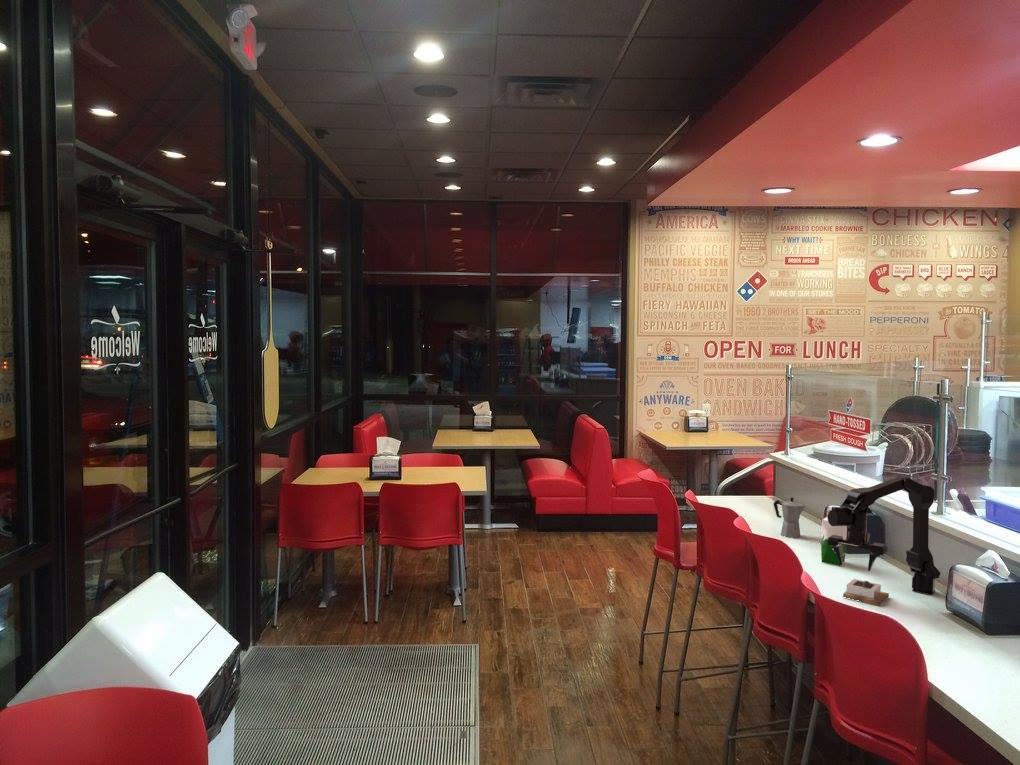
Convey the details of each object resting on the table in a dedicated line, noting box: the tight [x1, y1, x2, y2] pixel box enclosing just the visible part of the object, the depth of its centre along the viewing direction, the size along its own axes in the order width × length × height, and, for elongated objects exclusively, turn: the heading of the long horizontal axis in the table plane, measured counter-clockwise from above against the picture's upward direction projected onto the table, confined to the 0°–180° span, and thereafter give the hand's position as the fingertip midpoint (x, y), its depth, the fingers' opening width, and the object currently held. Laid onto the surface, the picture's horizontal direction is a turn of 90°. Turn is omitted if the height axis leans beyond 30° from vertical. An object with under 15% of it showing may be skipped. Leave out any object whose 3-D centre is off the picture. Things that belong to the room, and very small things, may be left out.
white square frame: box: [845, 578, 882, 599], centre depth 259 cm, size 9×9×3 cm
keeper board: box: [842, 580, 890, 607], centre depth 258 cm, size 12×12×6 cm
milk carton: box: [820, 516, 848, 567], centre depth 299 cm, size 9×9×20 cm
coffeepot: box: [773, 497, 807, 539], centre depth 341 cm, size 15×9×18 cm, turn 44°
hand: (855, 568), depth 260 cm, fingers open, 9 cm apart
